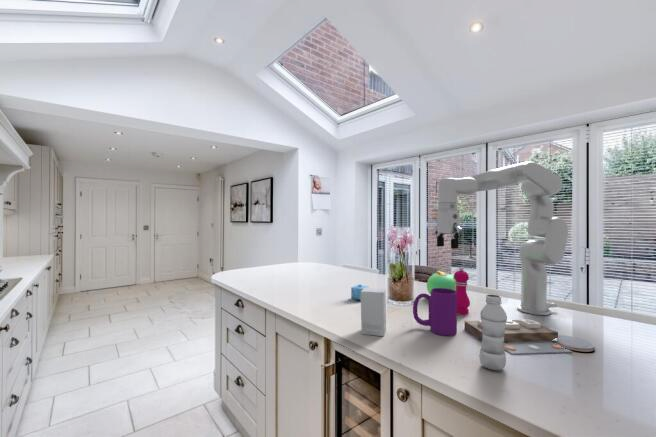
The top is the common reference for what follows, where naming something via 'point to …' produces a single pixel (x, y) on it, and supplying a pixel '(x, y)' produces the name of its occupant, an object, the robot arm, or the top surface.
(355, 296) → the teapot
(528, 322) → the button
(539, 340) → the button board
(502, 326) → the plastic bottle
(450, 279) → the toy bird
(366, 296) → the skincare box
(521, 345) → the pattern card
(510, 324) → the middle button
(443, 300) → the mug
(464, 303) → the pepper mill
